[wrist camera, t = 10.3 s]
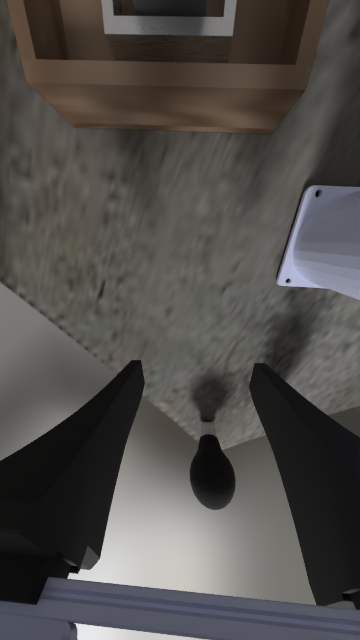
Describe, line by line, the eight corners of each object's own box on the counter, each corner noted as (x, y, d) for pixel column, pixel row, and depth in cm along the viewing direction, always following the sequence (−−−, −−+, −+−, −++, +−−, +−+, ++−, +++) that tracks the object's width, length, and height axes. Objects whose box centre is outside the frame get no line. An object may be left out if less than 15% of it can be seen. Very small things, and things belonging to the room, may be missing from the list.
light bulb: (185, 427, 29) (183, 511, 20) (197, 407, 26) (200, 494, 17) (215, 434, 29) (227, 520, 20) (230, 416, 27) (250, 505, 18)
